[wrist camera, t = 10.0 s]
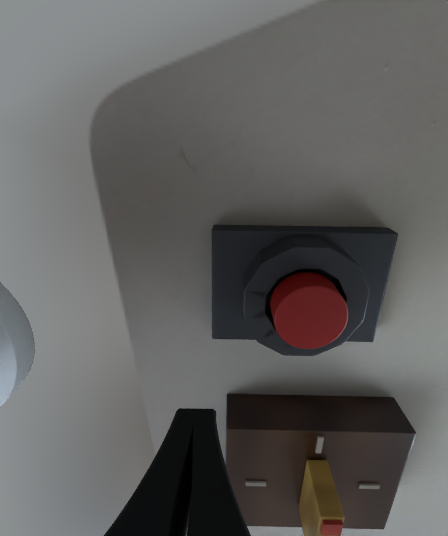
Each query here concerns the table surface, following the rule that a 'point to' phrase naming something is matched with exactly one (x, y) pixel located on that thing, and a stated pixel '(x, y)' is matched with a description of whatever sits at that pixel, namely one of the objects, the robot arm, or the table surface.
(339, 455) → the plate
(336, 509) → the yellow rectangular block
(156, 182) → the table surface
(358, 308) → the dark grey button mount
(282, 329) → the bell button
